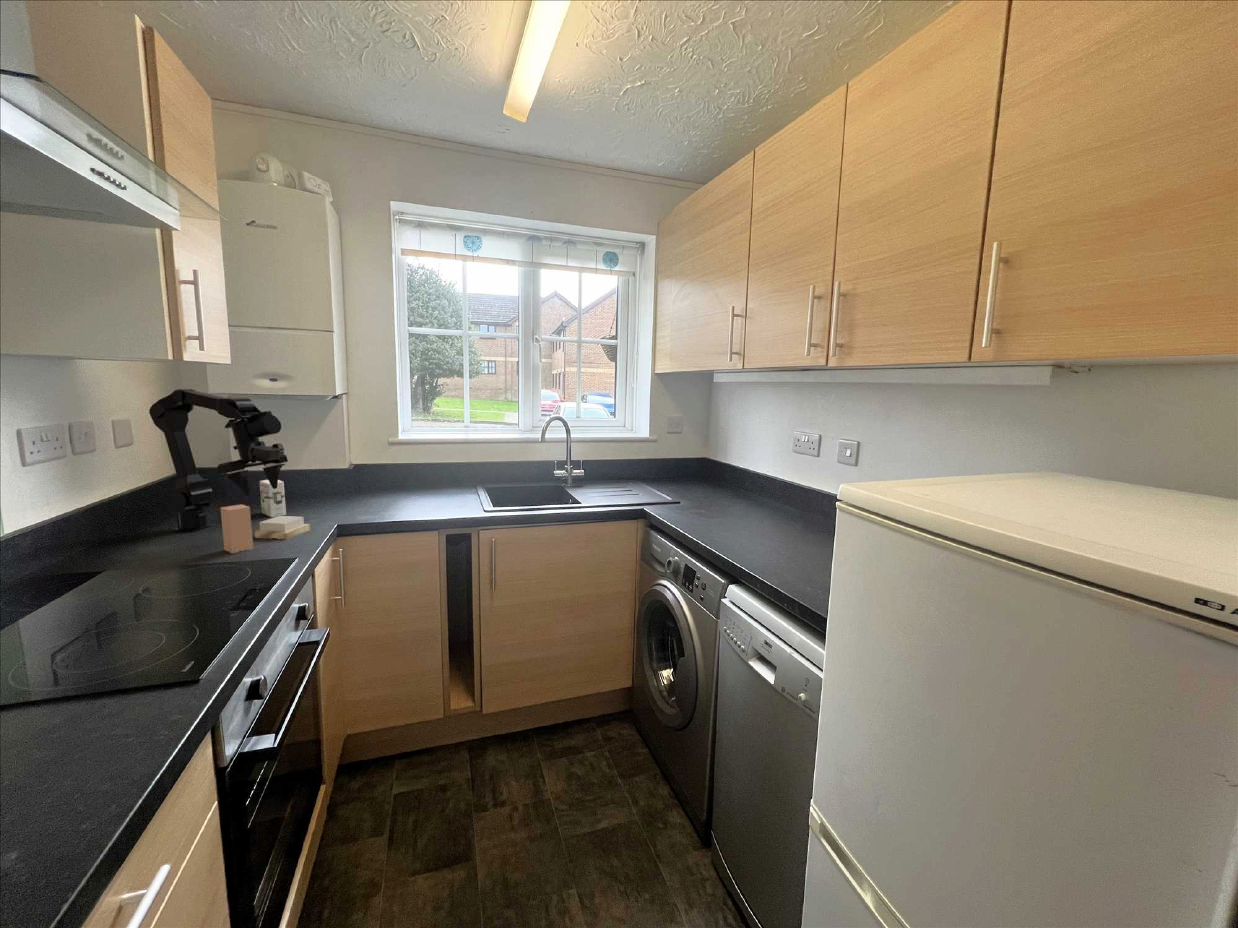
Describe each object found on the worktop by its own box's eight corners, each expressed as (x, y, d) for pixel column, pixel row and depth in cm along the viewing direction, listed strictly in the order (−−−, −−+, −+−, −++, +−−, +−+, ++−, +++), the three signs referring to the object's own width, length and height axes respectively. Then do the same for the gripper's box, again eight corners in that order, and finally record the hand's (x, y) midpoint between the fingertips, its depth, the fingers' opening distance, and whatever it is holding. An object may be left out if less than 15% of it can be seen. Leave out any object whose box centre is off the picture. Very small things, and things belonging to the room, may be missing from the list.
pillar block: (224, 549, 141) (220, 507, 139) (245, 545, 145) (241, 504, 143) (232, 553, 138) (228, 510, 137) (253, 548, 143) (249, 506, 141)
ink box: (261, 513, 180) (258, 480, 178) (277, 510, 184) (274, 478, 182) (270, 517, 175) (268, 483, 173) (287, 514, 179) (284, 481, 177)
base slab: (255, 539, 153) (254, 531, 152) (280, 530, 163) (279, 522, 162) (287, 541, 152) (286, 532, 152) (309, 531, 162) (309, 524, 161)
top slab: (260, 530, 153) (259, 522, 153) (279, 523, 161) (279, 515, 161) (285, 531, 153) (284, 523, 152) (303, 524, 160) (303, 516, 160)
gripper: (240, 438, 140) (256, 493, 142) (295, 432, 158) (309, 481, 160) (208, 445, 142) (224, 500, 144) (266, 439, 160) (279, 487, 162)
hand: (262, 491), depth 152 cm, fingers open, 9 cm apart
